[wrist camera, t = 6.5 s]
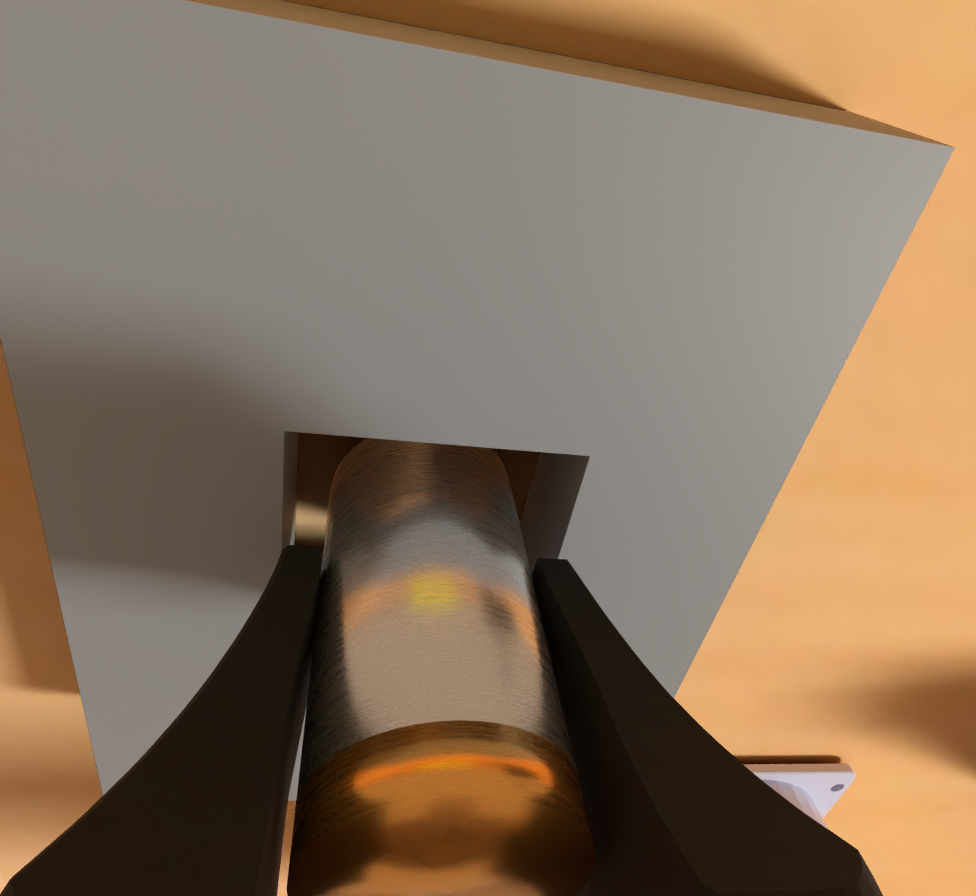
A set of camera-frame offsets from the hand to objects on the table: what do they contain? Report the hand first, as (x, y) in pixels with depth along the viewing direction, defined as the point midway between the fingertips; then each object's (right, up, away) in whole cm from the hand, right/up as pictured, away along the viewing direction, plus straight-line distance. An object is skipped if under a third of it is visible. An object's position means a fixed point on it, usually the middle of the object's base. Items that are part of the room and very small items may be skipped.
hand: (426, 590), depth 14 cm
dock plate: (0, +2, +3) cm, 4 cm away
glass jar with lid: (0, +2, +2) cm, 3 cm away
